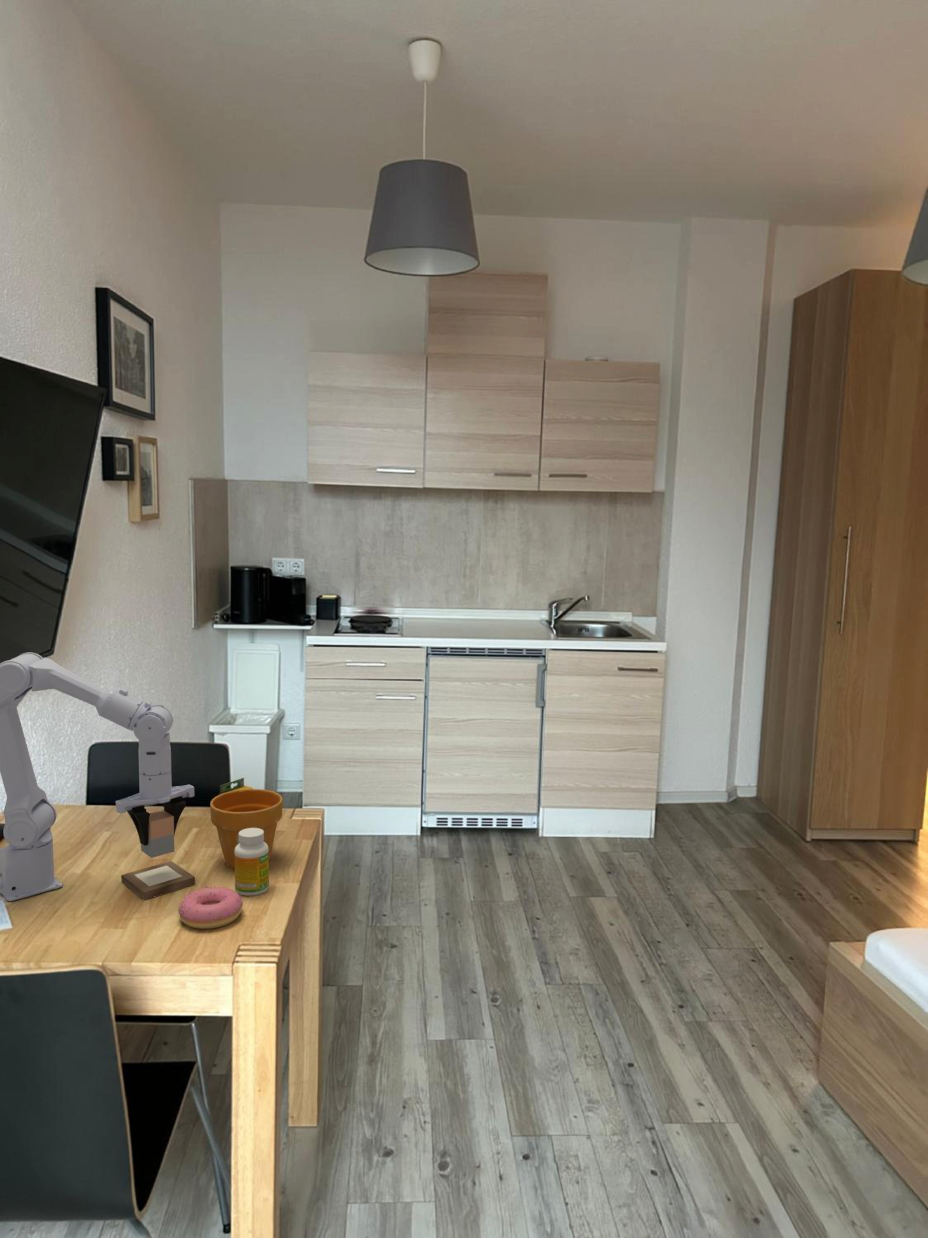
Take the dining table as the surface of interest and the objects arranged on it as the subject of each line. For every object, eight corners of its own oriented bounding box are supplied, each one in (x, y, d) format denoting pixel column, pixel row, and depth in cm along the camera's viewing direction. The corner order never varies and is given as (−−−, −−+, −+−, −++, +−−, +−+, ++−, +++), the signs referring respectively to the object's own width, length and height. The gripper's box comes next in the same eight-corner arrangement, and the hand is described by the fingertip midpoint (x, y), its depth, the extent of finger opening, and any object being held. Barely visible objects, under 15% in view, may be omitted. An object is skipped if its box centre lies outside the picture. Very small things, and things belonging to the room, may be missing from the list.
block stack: (151, 858, 161) (150, 822, 160) (141, 850, 164) (140, 815, 163) (174, 851, 164) (173, 816, 163) (163, 844, 167) (163, 810, 166)
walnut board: (144, 900, 158) (143, 892, 158) (121, 882, 165) (121, 874, 165) (195, 884, 165) (194, 876, 165) (171, 868, 172) (171, 860, 172)
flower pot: (265, 879, 168) (264, 815, 166) (198, 872, 170) (197, 808, 169) (293, 851, 181) (293, 791, 180) (231, 844, 184) (230, 786, 182)
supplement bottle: (264, 897, 160) (263, 839, 159) (230, 896, 160) (229, 838, 159) (272, 882, 166) (271, 826, 165) (240, 881, 166) (239, 825, 165)
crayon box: (229, 840, 187) (228, 788, 185) (219, 837, 188) (218, 785, 187) (253, 829, 193) (253, 779, 192) (244, 826, 195) (243, 777, 193)
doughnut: (205, 899, 159) (205, 878, 159) (255, 910, 155) (255, 888, 155) (164, 925, 149) (164, 902, 149) (217, 938, 145) (216, 914, 145)
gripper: (125, 784, 154) (128, 857, 156) (201, 768, 164) (202, 836, 166) (110, 775, 159) (112, 845, 161) (184, 760, 169) (185, 826, 171)
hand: (157, 840), depth 164 cm, fingers closed on block stack, 4 cm apart
